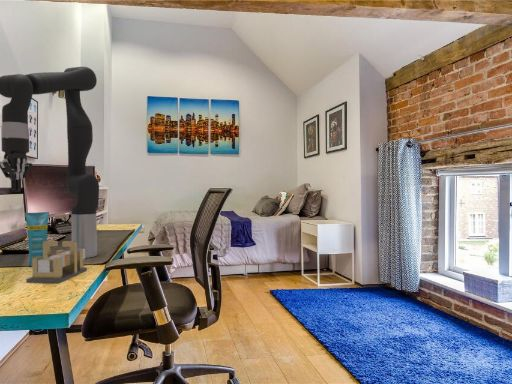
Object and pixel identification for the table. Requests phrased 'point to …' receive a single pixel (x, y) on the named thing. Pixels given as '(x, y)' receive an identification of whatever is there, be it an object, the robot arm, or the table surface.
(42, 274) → the tan bracket pieces
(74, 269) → the bridge
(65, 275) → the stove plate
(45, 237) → the tube
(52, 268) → the rod
